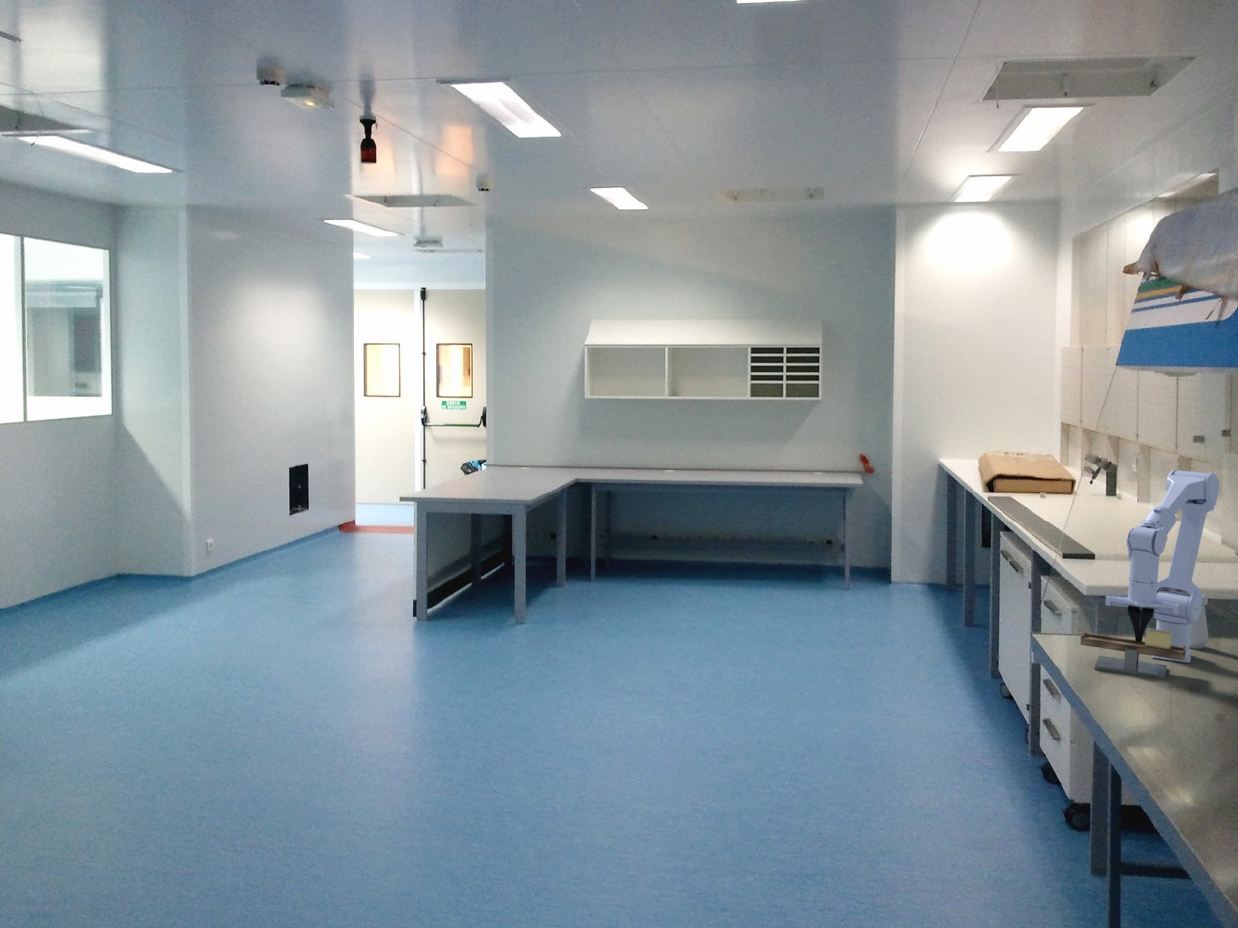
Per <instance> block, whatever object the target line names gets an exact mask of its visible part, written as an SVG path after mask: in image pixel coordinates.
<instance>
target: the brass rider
mask: <svg viewBox="0 0 1238 928" xmlns="http://www.w3.org/2000/svg"><path fill="white" fill-rule="evenodd" d="M1171 638H1172V631H1166V630H1159V629H1156V628H1150V627H1146V629H1145V638H1144V639H1145V640H1144V641H1145V647H1151V648H1157V649H1164V650H1170V649H1171Z"/></svg>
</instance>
